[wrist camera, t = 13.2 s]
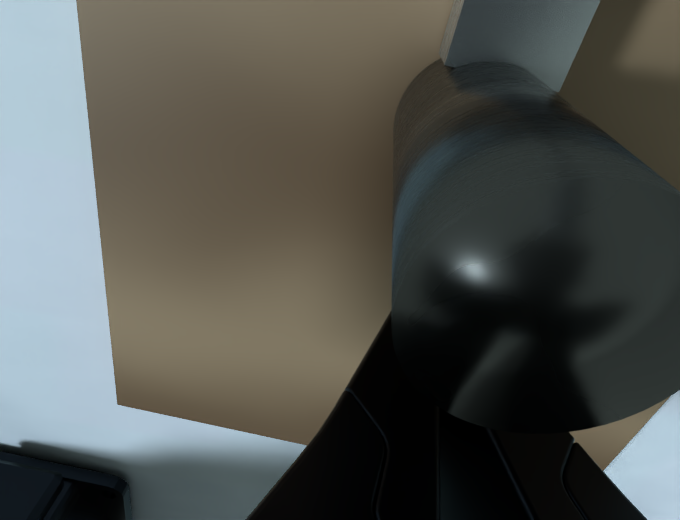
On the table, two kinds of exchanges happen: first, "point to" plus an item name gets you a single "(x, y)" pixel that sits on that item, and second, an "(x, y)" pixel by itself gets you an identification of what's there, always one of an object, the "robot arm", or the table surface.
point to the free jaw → (527, 235)
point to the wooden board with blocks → (294, 187)
